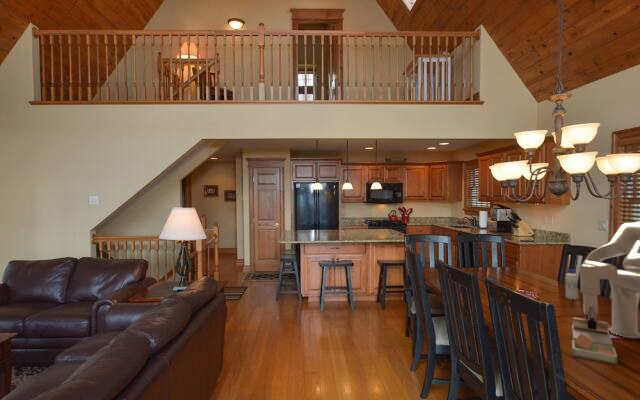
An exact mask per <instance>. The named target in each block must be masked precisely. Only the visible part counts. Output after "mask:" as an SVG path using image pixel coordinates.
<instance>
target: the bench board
mask: <svg viewBox="0 0 640 400" xmlns="http://www.w3.org/2000/svg"><path fill="white" fill-rule="evenodd" d="M571 329H572V330H571V331H572V333H571V334H572V340H576V339H577V337H578V336H579V335H580V334H583V335H584V336H586V337H587V338H589V339H590V340H592V341H593V342H592V343H593V344H598V345H604V346H610V347H614V345H613V341H612V338H611V335H610V332H609V331H608V334H601V333H595V332H589V331H583V330H576V329H574V328H573V324H571Z"/></svg>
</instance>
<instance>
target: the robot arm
mask: <svg viewBox="0 0 640 400" xmlns="http://www.w3.org/2000/svg"><path fill="white" fill-rule="evenodd" d="M625 255H626V256H625ZM621 256H625V258H624V259H623V261H622V267H623V269H618V268H617V267H616V266H615V265H613V264H611V263H606V262H603V261H604V260H606V259H611V258H615V257H621ZM579 280H580V286H579V287H580V293H581V294H583V295H582V299H583V302H582V303H583V314H584V315H585V316H586V319H588V328H589V329H595V330H596V329H597V327H596V321H597V320H596V319H597V318H596V317H597V316H598V296H600V295H601V280H608V281H609V285H610V291H611V326H610V327H608V330H609V331H610V332H611V333H610V332H609V331H608V332H609V333H610V334H612V333H613V334H612V335H614V334H616V335H615V336H617V335H619V336H618V337H620V336H623V337H622V338H625V337H626V339H640V332H639V331H638V300H637V299H638V298H637V297H636V294H640V220H638V221H635V222H624V223H622V224H621V225H620V226H619V228H618V229H617V230H616V232H615V233H614V235H613V236H612V237H611V238H610V241H608V243H606V244H604V245H602V246H600V247H597V248H595V249H594V250H592V251H591V252H590V253H589V254H588V255H587V256H586V257H585V259H584V260H583V262H582V264H580V266H579ZM635 293H636V294H635Z"/></svg>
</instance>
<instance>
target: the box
mask: <svg viewBox="0 0 640 400" xmlns="http://www.w3.org/2000/svg"><path fill="white" fill-rule="evenodd" d="M574 341H575V340H573V339H572V340H571V350H572V357H578V358H583V359H589V360H593V361H599V362H604V363H609V364H615V365H618V360H619V359H618V355H617V351H616V349H615V347H614V346H613V347H610V346H604V345H598V344H593V343H591V345H590V346H589V348H588V349H587V350H584V349H582V348H581V347H579V346H578V345H577V344H575V343H574ZM598 349H602V350H608V351H613V354H614V356H613V355H607V354H602V353H598Z"/></svg>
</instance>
